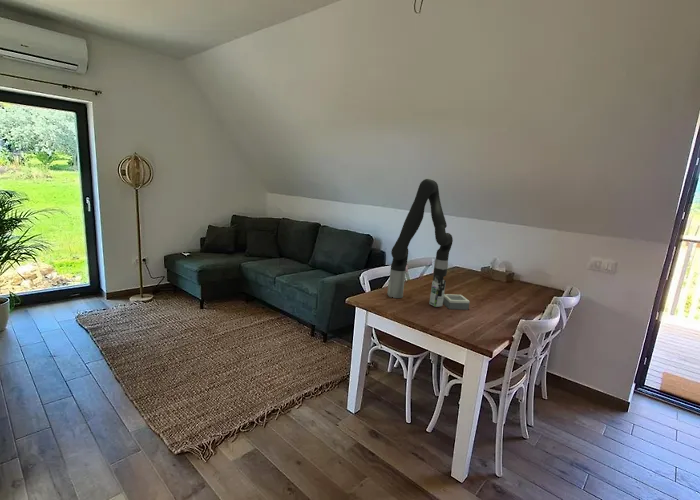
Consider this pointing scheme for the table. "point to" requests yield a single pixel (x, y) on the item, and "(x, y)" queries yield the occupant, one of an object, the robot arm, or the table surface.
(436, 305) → the syrup box
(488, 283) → the table surface
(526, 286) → the table surface
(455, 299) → the plinth
